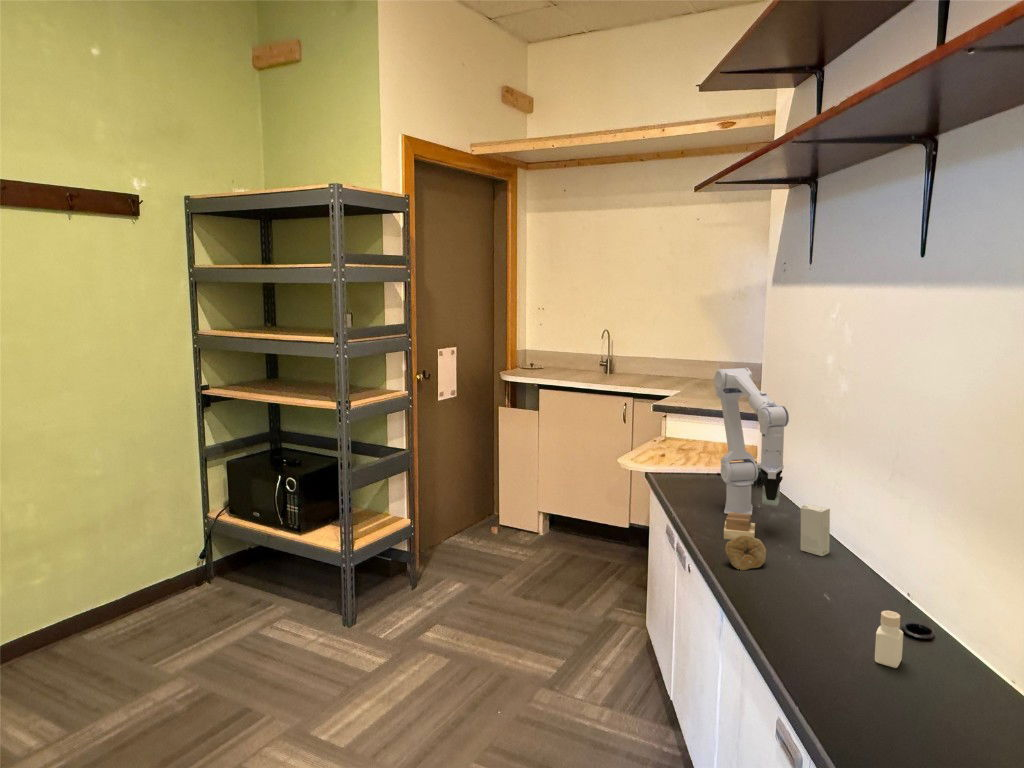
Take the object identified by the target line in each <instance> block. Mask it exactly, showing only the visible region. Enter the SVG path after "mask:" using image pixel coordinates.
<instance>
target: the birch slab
mask: <svg viewBox="0 0 1024 768" xmlns="http://www.w3.org/2000/svg"><path fill="white" fill-rule="evenodd" d="M755 530H756V523H755V522H751V525H750V529H749V531H739V530H729V529H726V520H725V521H724V527H723V540H729V541H731V540H734V539H735V538H737V537H738V536H741V535H747V536H752V537H754V538H755V535H756V534H755V533H756V531H755Z"/></svg>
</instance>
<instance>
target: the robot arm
mask: <svg viewBox="0 0 1024 768" xmlns="http://www.w3.org/2000/svg"><path fill="white" fill-rule="evenodd" d="M713 382H714V389H715V394H716V397H717V398H719V399H720V401H721V402H720V403H721V408H722V409H721V410H722V415H723V422H724V423H723V425H724V430H725V436H726V443H727V444H726V445H727V449H728V451H727V453H725V455H724V456H722V458H721V459H720V476H721V479H722V480H723V482H724V483H725V484H726V493H725V495H726V497H725V498H726V499H725V500H726V501H725V505H724V506H725V507H724V510H723V514H727V515H728V513H729V512H733V513H744V514H751V517H752V515H753V504H752V485H754V484H755V483H754V482H755V481H757V479H758V478H759V477H758V476H759V468H760V471H761V473H760V478H761V480H762V482H763V485H764V486H765V492H766V498H767V500H775V499H776V495H777V490H778V487H779V484H781V482H782V480H783V479H784V478H783V477H784V476H783V475H782V473H783V470H784V467H785V466H784V441H785V440H784V439H785V438H784V437H785V427H787V426H788V424H789V421H790V413H789V411H788V409H787V408H786V406H785V405H780V404H778V405H777V404H776V402H774V400H773V399H772V398H771V397H770V395H768V394H767V391H765V390H763V391H762V390H759V389H758V387H757V385H756V384H755V383H754V381H753V372H752V371H751V370H750V368H748V367H741V368H738V367H736V368H717V370H716V372H715V375H714V379H713ZM744 395H745V396H746V397H747V398H748V405H749V406H750V408H751V409H752V410H753V411H754V413H755V414H756V415H757V421H758V424H759V431H760V434H761V448H760V449H761V450H760V452H761V453H760V454H761V455H760V457H761V458H760V462H759V463H758V462H757V463H756V461H755V456H754V455H753V454H751V452H748V451H747V450H746V444H745V439H744V431H743V425H742V419H741V412H740V405H739V399H740V398H741V397H743V396H744Z"/></svg>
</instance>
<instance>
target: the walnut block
mask: <svg viewBox="0 0 1024 768" xmlns="http://www.w3.org/2000/svg"><path fill="white" fill-rule="evenodd" d="M751 520H752V516H751V514H744V513H733V512H729V513H728V514H727V516H726V518H725V521H726V529H729V530H739V531H749V529H750V525H751V523H752V521H751Z"/></svg>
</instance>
